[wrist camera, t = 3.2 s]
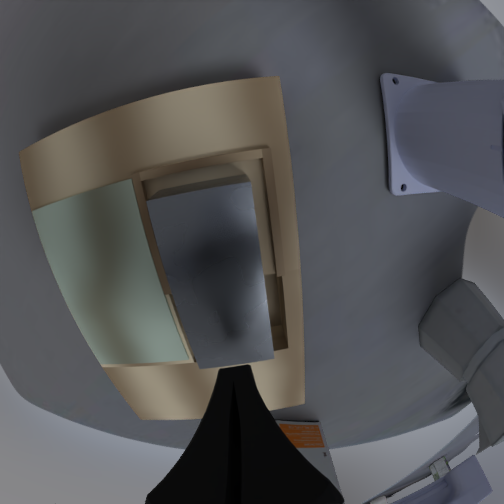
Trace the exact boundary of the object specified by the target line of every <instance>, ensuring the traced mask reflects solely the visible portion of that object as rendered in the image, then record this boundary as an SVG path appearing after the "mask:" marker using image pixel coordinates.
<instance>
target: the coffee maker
mask: <svg viewBox="0 0 504 504" xmlns="http://www.w3.org/2000/svg"><path fill="white" fill-rule="evenodd" d="M418 329H419V339H420V346H421V347H422V348H423V349H424V350H425V351H426V352H428V353H429V354H430V355H431V356H432V357H433V358H434V359H436V360H437V361H438V362H439V363H440V364H441V365H442V366H443V367H445V368H446V369H447V370H448V371H449V372H450V373H451V374H452V375H454V376H455V377H456V378H457V379H458V380H459V381H467V383H468V384H467V388H466V391H467V393H468V395H469V397H470V399H471V401H472V403H473V405H474V407H475V409H476V411H477V414H478V416H479V441H480V442H479V446H480V448H479V449H478V451H477V453H476V454H478V453H480V452H482V451H483V450H485V449H486V448H488V447H489V446H492V447H493V446H495V445H497V444H499V443H501V442H502V441H504V319H503V318H502V317H501V315H500V314H499V313H498V311H497V310H496V309H495V307H494V306H493V305H492V304H491V302H490V301H489V300H488V299H487V297H486V296H485V295H484V294H483V292H482V291H481V290H480V289H479V288H478V287H477V286H476V284H475V283H473V282H470V281H467V280H464V279H461V278H459V279H458V280H457V281H455V282H454V283H453V284H452V285H450V286H449V287H448V288H446V289H445V290H444V291H442V292H441V293H440V294H438V295H437V296H436V297H435V299H434V300H433V302H432V304H431V306H430V308H429V309H428V311H427V313H426V314H425V316H424V318H423V319H422V321H421V323H420V324H419V326H418Z"/></svg>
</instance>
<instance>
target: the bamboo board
mask: <svg viewBox="0 0 504 504" xmlns="http://www.w3.org/2000/svg"><path fill="white" fill-rule="evenodd" d="M19 156H20V162H21V168H22V173H23V178H24V183H25V187H26V192H27V196H28V200H29V204H30V207H31V211H32V215H33V218H34V221H35V225H36V228H37V231H38V234H39V237H40V240H41V243H42V246H43V249H44V252H45V254H46V257H47V260H48V262H49V265H50V267H51V270H52V272H53V275H54V277H55V279H56V282H57V284H58V286H59V289H60V291H61V293H62V295H63V297H64V299H65V301H66V304H67V306H68V308H69V310H70V312H71V314H72V316H73V318H74V319H75V321H76V323H77V325H78V327H79V329H80V331H81V332H82V334H83V336H84V338H85V340H86V341H87V343H88V345H89V346H90V348H91V350H92V351H93V353H94V355H95V356H96V358H97V360H98V361H99V363H100V364H101V366H102V367H103V369H104V370H105V372H106V373H107V375H108V376H109V378H110V379H111V381H112V382H113V384H114V385H115V386H116V388H117V389H118V391H119V392H120V393H121V395H122V396H123V397H124V399H125V400H126V401H127V403H128V404H129V405H130V407H131V408H132V409H133V411H134V412H135V413H136V414H137V415H138V417H139V418H140V419H141V420H183V419H202V418H203V416H204V413H205V411H206V409H207V406H208V403H209V401H210V398H211V395H212V392H213V389H214V386H215V382H216V379H217V374H218V370H219V369H220V368H227V367H234V366H240V365H246V364H249V365H251V368H252V372H253V375H254V379H255V382H256V386H257V389H258V391H259V393H260V395H261V397H262V399H263V401H264V403H265V405H266V407H267V408H268V410H269V411H270V410H276V409H281V408H286V407H291V406H296V405H301V404H305V365H304V327H303V303H302V284H301V267H300V252H299V239H298V227H297V215H296V204H295V194H294V184H293V175H292V166H291V157H290V149H289V141H288V133H287V125H286V118H285V111H284V104H283V97H282V91H281V84H280V78H279V76H272V77H259V78H249V79H240V80H233V81H226V82H219V83H213V84H207V85H202V86H196V87H191V88H186V89H182V90H177V91H173V92H169V93H165V94H161V95H157V96H153V97H150V98H146V99H143V100H139V101H136V102H133V103H130V104H126V105H123V106H120V107H117V108H114V109H112V110H109V111H106V112H103V113H101V114H98V115H95V116H93V117H90V118H88V119H85V120H83V121H80V122H78V123H76V124H73V125H71V126H69V127H67V128H64V129H62V130H60V131H58V132H56V133H54V134H52V135H50V136H48V137H46V138H44V139H42V140H40V141H38V142H36V143H34V144H32V145H31V146H29V147H27V148H25V149H23V150H22V151H20V152H19ZM243 174H247V176H248V178H249V179H250V181H251V187H252V194H253V201H254V208H255V215H256V222H257V230H258V237H259V244H260V251H261V259H262V266H263V274H264V281H265V289H266V296H267V304H268V311H269V319H270V327H271V335H272V342H273V350H274V358H275V359H270V360H264V361H258V362H252V363H246V364H239V365H232V366H224V367H216V368H207V369H199V367H198V364H197V362H196V359H195V356H194V354H193V351H192V349H191V346H190V343H189V341H188V338H187V335H186V333H185V330H184V327H183V324H182V322H181V319H180V316H179V313H178V310H177V307H176V304H175V301H174V298H173V295H172V292H171V289H170V286H169V283H168V280H167V276H166V273H165V270H164V266H163V263H162V260H161V256H160V253H159V249H158V246H157V242H156V238H155V235H154V231H153V227H152V223H151V219H150V215H149V211H148V207H147V203H146V201H147V200H148V199H149V198H150V197H152V196H153V195H154V194H155V193H156V192H157V191H159V190H162V189H167V188H171V187H176V186H181V185H186V184H191V183H196V182H202V181H207V180H213V179H218V178H224V177H230V176H237V175H243Z"/></svg>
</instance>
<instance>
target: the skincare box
mask: <svg viewBox="0 0 504 504" xmlns="http://www.w3.org/2000/svg"><path fill="white" fill-rule="evenodd" d="M275 421H276V423H277V424H278V426H279V427H280V428H281V430H282V431H283V432H284V434H285V435H286V436H287V438H288V439H289V440H290V441H291V443H292V444H293V445H294V446H295V447H296V448H297V449H298V450H299V451H300V453H301V454H302V455H303V456H304V457H305V458H306V459H307V460H308V461H309V462H310V463H311V464H312V465H313V466H314V467H315V468H316V469H318V470H319V471H320V472H321V473H322V474H323V475H324V476H326V477H327V478H328V479H329V480H330V481H331V482H332V484H333V485H334V486H335V487H336V488H337V489H338V491H339V492H340V493H341V489H340V486H339V482H338V479H337V475H336V472H335V469H334V465H333V462H332V458H331V455H330V452H329V448H328V445H327V442H326V439H325V435H324V432H323V429H322V425H321V423H320V422H293V421H281V420H275ZM341 495H342V493H341ZM343 504H345V503H343Z"/></svg>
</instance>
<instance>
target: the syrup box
mask: <svg viewBox="0 0 504 504" xmlns="http://www.w3.org/2000/svg"><path fill="white" fill-rule="evenodd" d="M429 468H430V471H431V473H432V475H433V477H434V480H435V481H436V480H438V479H440V478H441V477H443V476H444V475H445V474H446V473H448V472H449V471H450V470H451V469H450V467H449V465H448V463H447V460H446V458H445V456H443V457H442V458H440V459H439V460H437V461H435V462H434V463H432V464H431V465H430V466H429Z"/></svg>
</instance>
